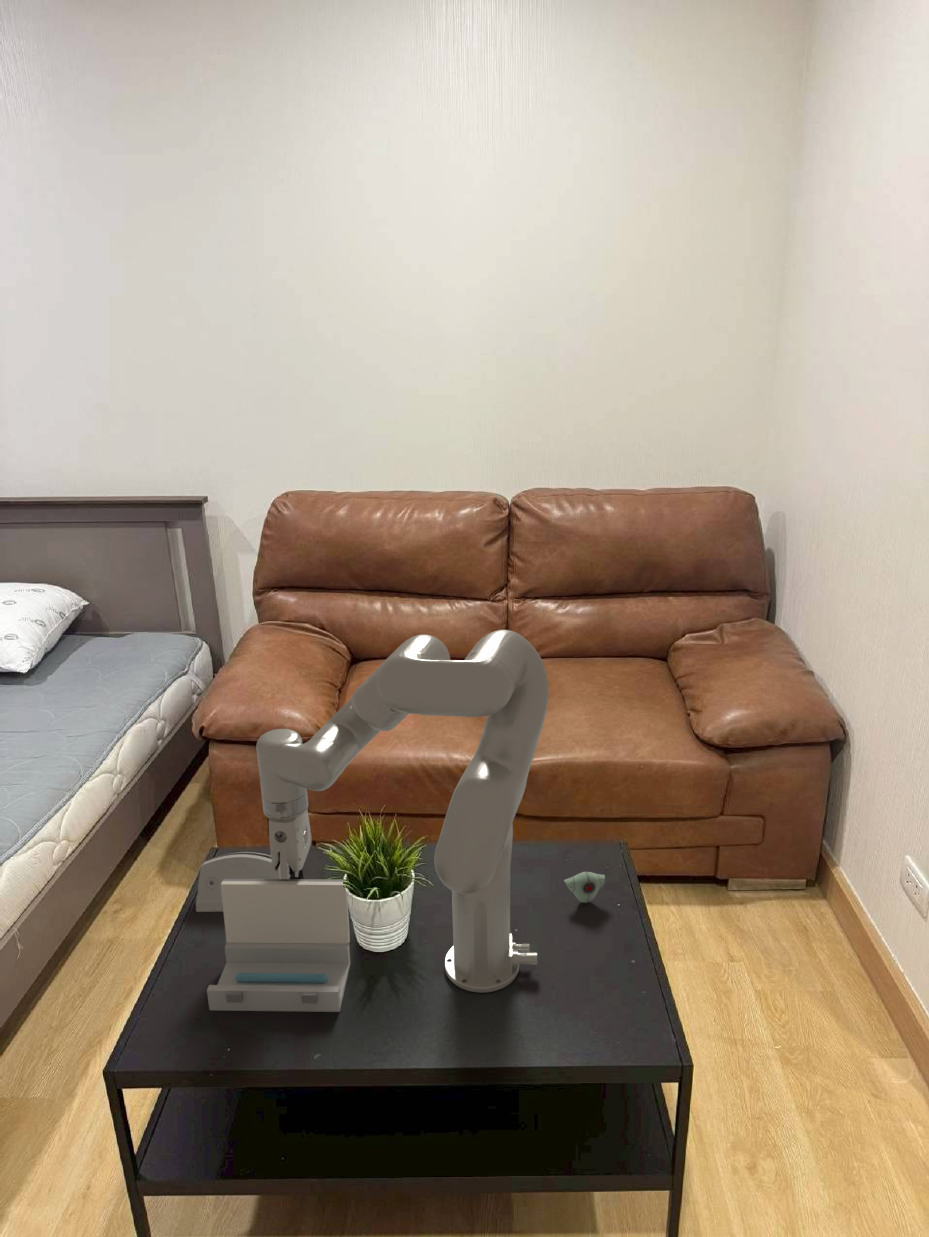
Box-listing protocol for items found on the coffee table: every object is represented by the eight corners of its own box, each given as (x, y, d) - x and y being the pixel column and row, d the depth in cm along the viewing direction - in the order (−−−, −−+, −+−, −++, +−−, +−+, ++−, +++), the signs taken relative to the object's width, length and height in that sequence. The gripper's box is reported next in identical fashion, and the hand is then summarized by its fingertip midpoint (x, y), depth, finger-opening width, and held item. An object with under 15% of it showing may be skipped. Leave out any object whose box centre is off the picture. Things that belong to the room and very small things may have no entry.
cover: (348, 943, 152) (350, 937, 153) (345, 884, 149) (347, 879, 150) (226, 942, 152) (229, 936, 154) (220, 884, 150) (223, 878, 151)
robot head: (602, 893, 169) (604, 863, 167) (609, 907, 166) (611, 876, 163) (561, 898, 168) (562, 868, 166) (567, 912, 164) (568, 882, 162)
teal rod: (328, 978, 148) (328, 971, 148) (327, 984, 147) (326, 977, 146) (236, 977, 149) (236, 970, 148) (234, 983, 148) (233, 976, 147)
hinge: (193, 911, 167) (192, 858, 167) (201, 903, 171) (200, 851, 171) (283, 910, 167) (282, 856, 167) (288, 902, 171) (287, 850, 171)
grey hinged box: (350, 963, 153) (349, 944, 152) (338, 1015, 142) (337, 995, 141) (229, 962, 154) (226, 943, 153) (208, 1014, 143) (205, 994, 141)
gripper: (297, 825, 144) (306, 919, 150) (316, 778, 158) (324, 866, 164) (251, 825, 144) (262, 919, 151) (274, 778, 158) (283, 865, 165)
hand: (294, 891), depth 157 cm, fingers closed
